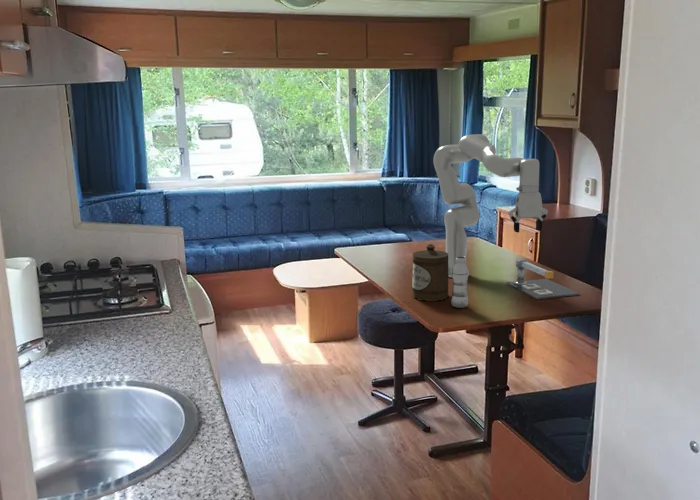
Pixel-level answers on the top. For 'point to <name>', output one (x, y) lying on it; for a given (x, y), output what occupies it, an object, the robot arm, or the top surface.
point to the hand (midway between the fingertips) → (527, 231)
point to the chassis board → (544, 284)
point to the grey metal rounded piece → (520, 277)
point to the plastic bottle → (459, 283)
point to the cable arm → (533, 268)
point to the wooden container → (430, 274)
